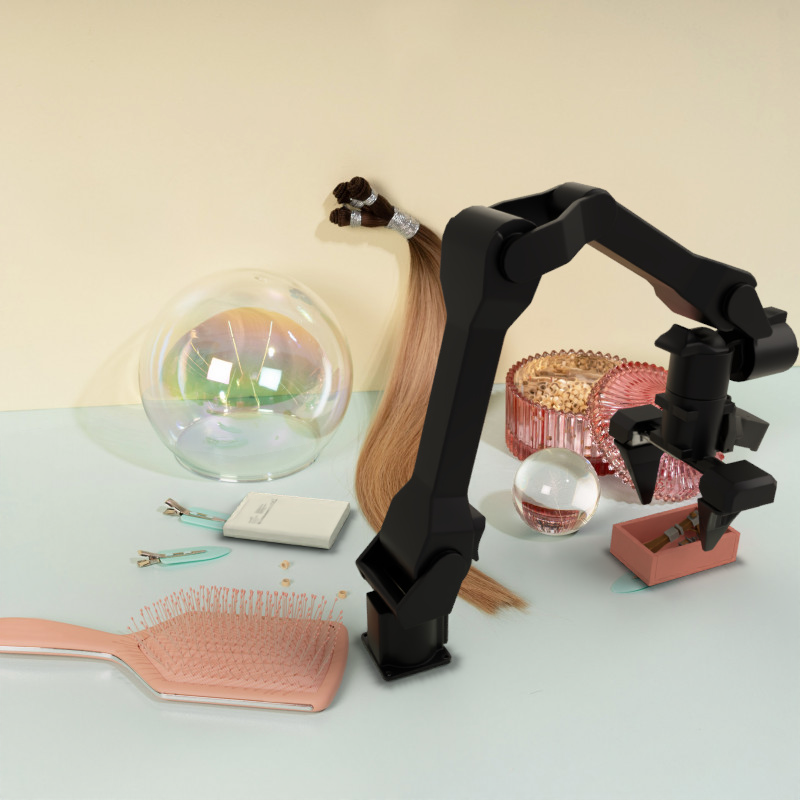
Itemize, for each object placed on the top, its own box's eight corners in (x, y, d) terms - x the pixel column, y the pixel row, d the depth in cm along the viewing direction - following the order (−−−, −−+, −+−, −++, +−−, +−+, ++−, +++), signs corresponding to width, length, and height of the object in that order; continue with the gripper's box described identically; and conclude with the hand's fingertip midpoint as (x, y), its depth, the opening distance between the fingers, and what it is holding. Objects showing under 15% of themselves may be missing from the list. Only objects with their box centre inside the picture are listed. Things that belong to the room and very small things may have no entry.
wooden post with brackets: (717, 540, 90) (708, 510, 88) (656, 580, 89) (645, 551, 87) (706, 531, 92) (697, 502, 90) (646, 570, 91) (635, 541, 89)
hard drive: (329, 551, 92) (223, 537, 94) (350, 512, 99) (251, 500, 102) (329, 538, 91) (221, 525, 94) (350, 500, 98) (250, 489, 101)
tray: (648, 586, 85) (652, 557, 84) (609, 551, 91) (612, 524, 90) (735, 561, 89) (740, 533, 88) (692, 529, 95) (696, 502, 93)
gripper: (836, 412, 77) (803, 556, 83) (697, 347, 93) (678, 472, 99) (741, 433, 73) (714, 581, 80) (612, 361, 89) (598, 490, 95)
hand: (675, 525), depth 89 cm, fingers open, 9 cm apart
